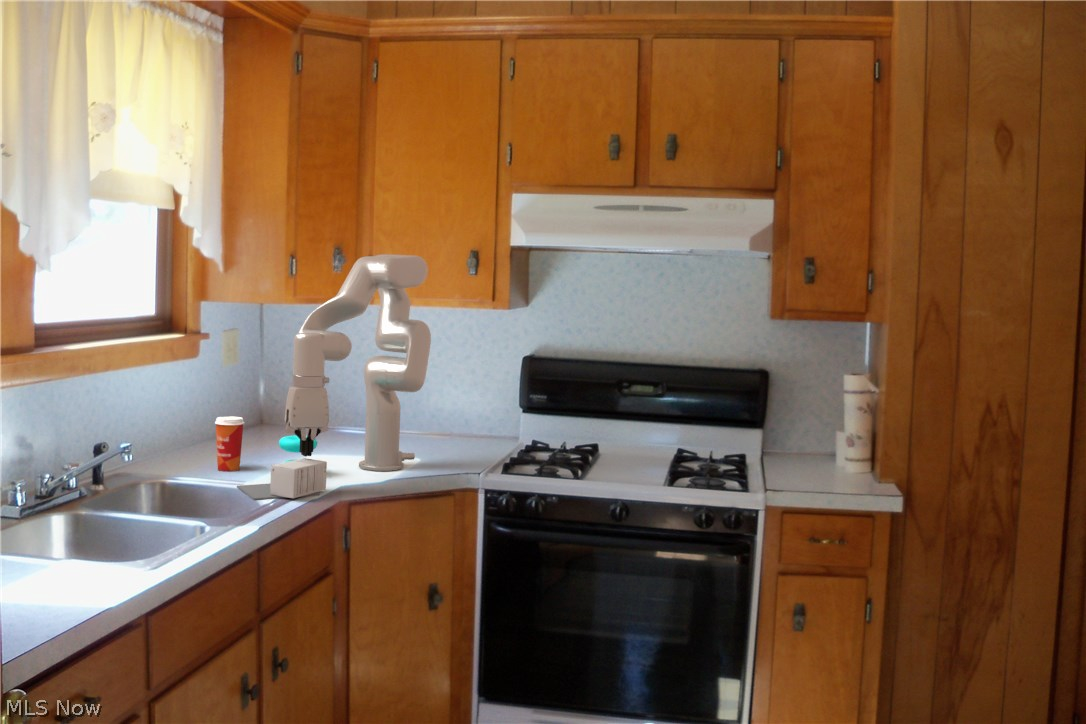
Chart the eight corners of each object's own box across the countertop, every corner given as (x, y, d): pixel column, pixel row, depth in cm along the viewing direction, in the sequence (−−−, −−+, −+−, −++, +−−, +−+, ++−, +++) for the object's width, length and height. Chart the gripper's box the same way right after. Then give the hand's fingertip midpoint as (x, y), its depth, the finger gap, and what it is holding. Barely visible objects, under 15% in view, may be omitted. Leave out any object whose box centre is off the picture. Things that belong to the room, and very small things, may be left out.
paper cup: (209, 468, 268) (210, 416, 267) (236, 465, 273) (237, 415, 272) (220, 473, 262) (221, 420, 261) (248, 470, 267) (249, 419, 266)
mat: (299, 482, 255) (299, 481, 255) (319, 494, 242) (319, 493, 242) (236, 487, 246) (236, 485, 246) (253, 500, 234) (254, 498, 234)
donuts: (310, 433, 271) (322, 439, 263) (309, 469, 272) (321, 476, 264) (274, 435, 266) (285, 441, 258) (273, 472, 267) (284, 479, 259)
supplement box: (302, 486, 249) (268, 494, 238) (304, 457, 249) (270, 464, 237) (326, 490, 246) (293, 499, 235) (328, 461, 246) (294, 468, 234)
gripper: (331, 380, 253) (329, 451, 255) (274, 381, 245) (272, 454, 247) (342, 383, 247) (340, 456, 248) (283, 384, 239) (281, 459, 240)
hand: (306, 455), depth 247 cm, fingers closed
